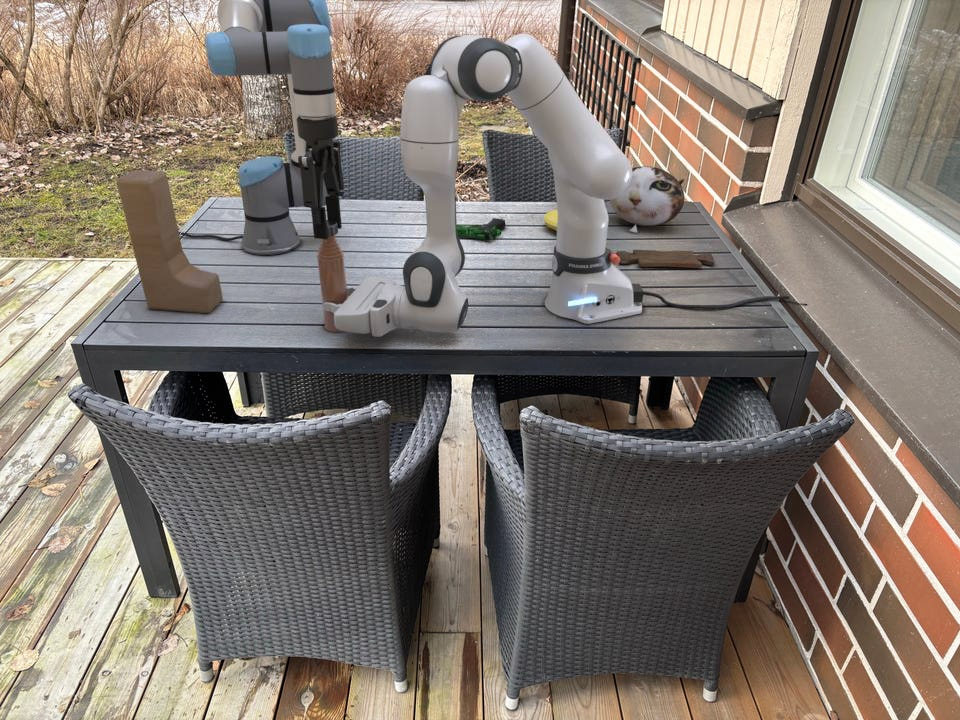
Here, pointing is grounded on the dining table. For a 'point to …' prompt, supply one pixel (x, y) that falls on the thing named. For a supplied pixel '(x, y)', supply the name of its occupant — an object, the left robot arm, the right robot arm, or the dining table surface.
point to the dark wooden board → (665, 258)
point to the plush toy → (650, 198)
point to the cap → (332, 227)
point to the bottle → (331, 277)
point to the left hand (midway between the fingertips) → (328, 232)
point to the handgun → (482, 230)
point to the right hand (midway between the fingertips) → (330, 298)
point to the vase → (551, 219)
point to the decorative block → (163, 247)
